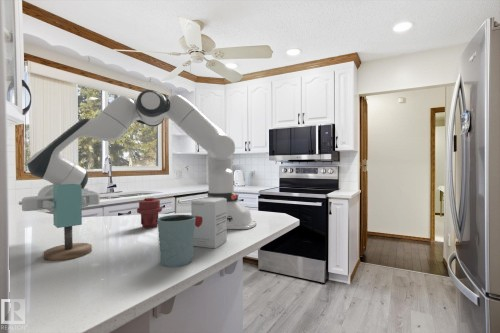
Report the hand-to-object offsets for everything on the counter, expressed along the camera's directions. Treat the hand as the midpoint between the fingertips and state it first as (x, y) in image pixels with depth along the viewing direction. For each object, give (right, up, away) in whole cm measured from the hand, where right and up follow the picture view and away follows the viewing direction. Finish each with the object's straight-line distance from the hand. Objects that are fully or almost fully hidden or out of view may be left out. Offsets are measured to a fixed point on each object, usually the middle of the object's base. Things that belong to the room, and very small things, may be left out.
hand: (68, 203), depth 80 cm
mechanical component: (+11, -15, +35) cm, 40 cm away
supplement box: (+41, -15, +10) cm, 45 cm away
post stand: (0, -15, +1) cm, 15 cm away
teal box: (-1, -6, +1) cm, 7 cm away
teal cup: (+34, -15, -6) cm, 38 cm away
